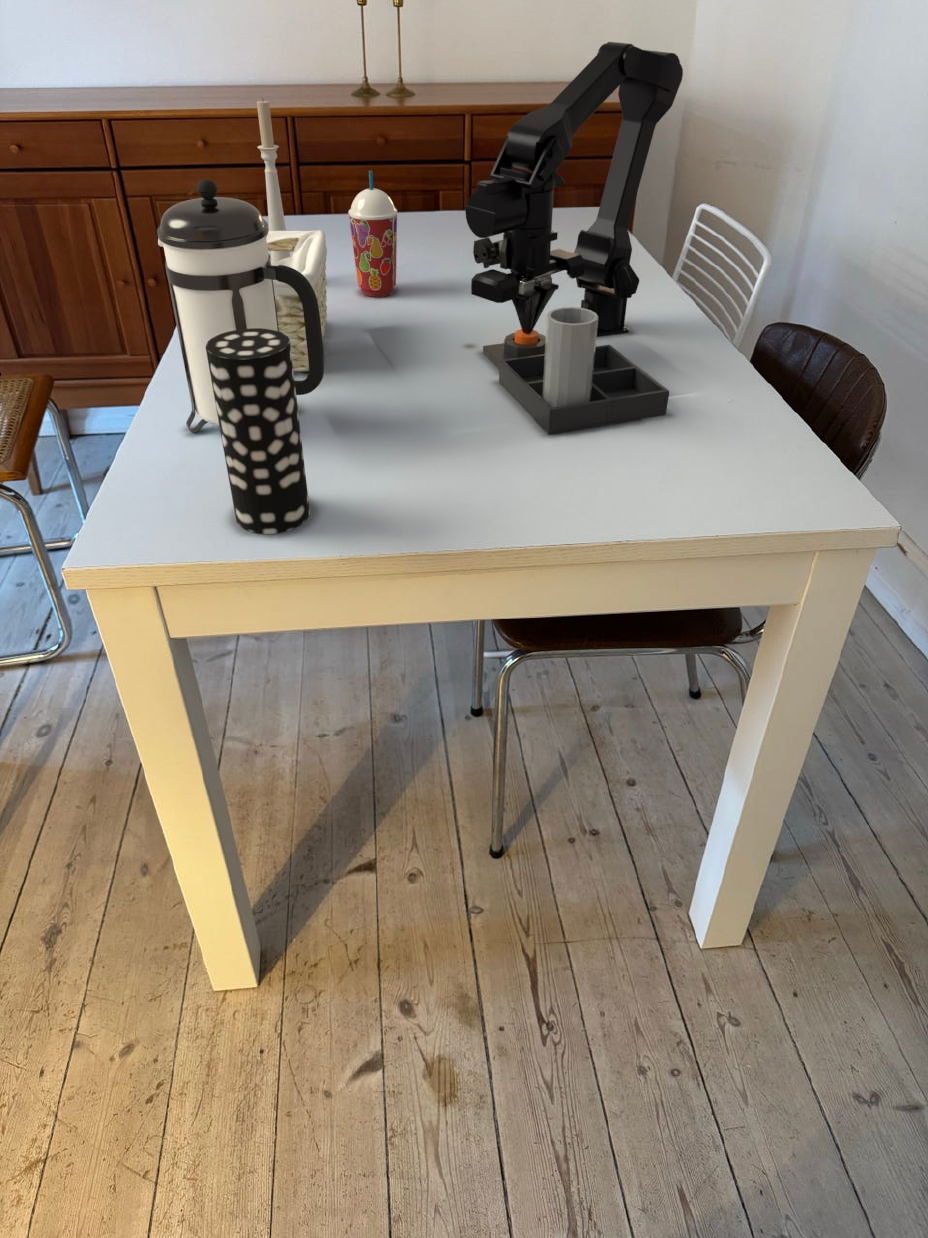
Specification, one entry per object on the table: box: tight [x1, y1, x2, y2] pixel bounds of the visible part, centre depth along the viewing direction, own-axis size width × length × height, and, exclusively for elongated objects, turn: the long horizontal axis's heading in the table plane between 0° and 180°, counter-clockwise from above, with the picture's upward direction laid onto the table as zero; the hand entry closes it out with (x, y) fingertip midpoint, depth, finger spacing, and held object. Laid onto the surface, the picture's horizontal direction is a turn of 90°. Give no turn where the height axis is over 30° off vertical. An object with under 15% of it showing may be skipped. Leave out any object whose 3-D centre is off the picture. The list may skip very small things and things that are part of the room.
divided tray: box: [498, 344, 670, 435], centre depth 128 cm, size 18×18×4 cm
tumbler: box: [542, 306, 598, 408], centre depth 120 cm, size 6×6×13 cm
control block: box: [482, 332, 546, 370], centre depth 139 cm, size 11×8×3 cm
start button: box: [514, 328, 540, 345], centre depth 138 cm, size 4×4×2 cm
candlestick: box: [256, 98, 292, 263], centre depth 159 cm, size 13×13×30 cm
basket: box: [267, 229, 328, 373], centre depth 139 cm, size 24×16×15 cm
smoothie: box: [348, 170, 398, 298], centre depth 158 cm, size 8×8×20 cm
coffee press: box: [156, 178, 325, 434], centre depth 114 cm, size 17×16×30 cm
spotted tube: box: [206, 328, 311, 535], centre depth 98 cm, size 8×8×20 cm
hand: (526, 332), depth 138 cm, fingers closed, pressing on start button
